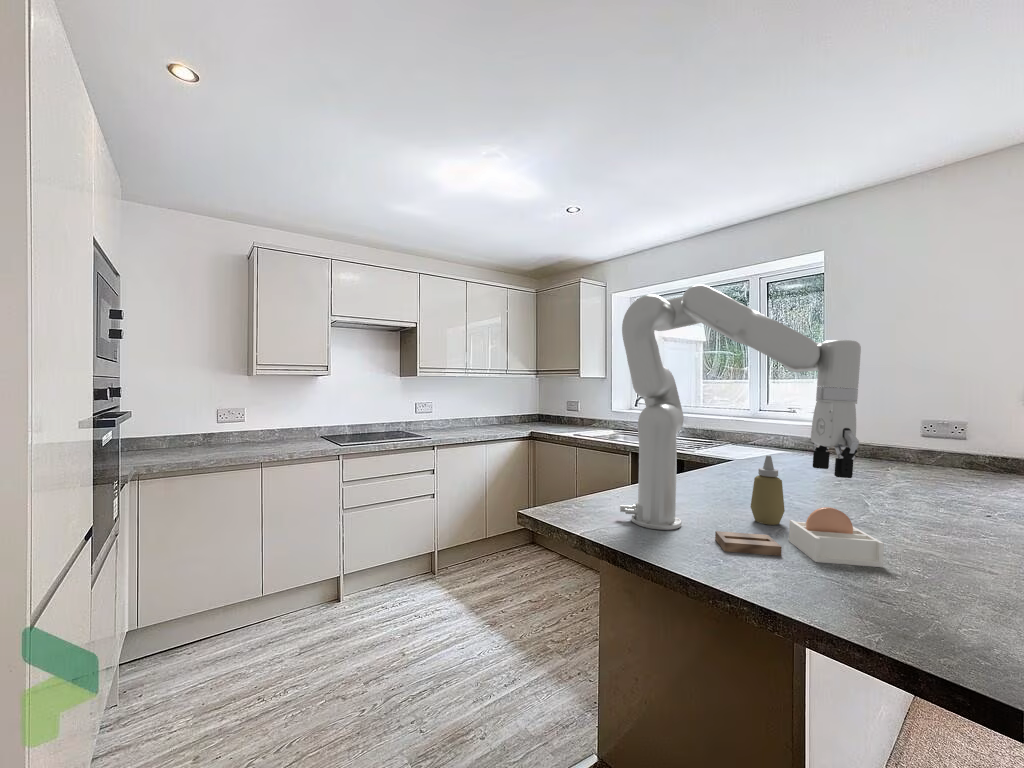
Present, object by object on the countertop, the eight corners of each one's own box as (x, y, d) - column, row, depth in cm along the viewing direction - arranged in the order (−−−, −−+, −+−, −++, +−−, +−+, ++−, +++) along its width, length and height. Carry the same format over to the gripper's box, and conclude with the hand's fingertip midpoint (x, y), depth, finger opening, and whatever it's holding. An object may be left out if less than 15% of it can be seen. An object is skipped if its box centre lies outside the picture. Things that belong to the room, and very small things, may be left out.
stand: (724, 551, 102) (724, 542, 102) (715, 539, 110) (715, 531, 110) (781, 555, 100) (781, 546, 100) (767, 543, 108) (767, 534, 108)
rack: (815, 561, 97) (815, 538, 97) (788, 540, 110) (789, 520, 110) (883, 567, 95) (883, 543, 95) (848, 545, 108) (848, 524, 108)
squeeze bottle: (775, 518, 128) (777, 454, 128) (790, 527, 120) (792, 458, 120) (745, 517, 129) (747, 453, 129) (757, 526, 121) (759, 457, 121)
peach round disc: (838, 557, 102) (861, 522, 101) (800, 534, 103) (822, 500, 103) (835, 555, 103) (858, 521, 102) (797, 533, 104) (819, 499, 104)
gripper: (800, 393, 111) (795, 464, 112) (838, 396, 94) (832, 479, 95) (834, 395, 110) (829, 466, 111) (879, 398, 93) (873, 483, 94)
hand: (831, 472), depth 103 cm, fingers open, 9 cm apart
